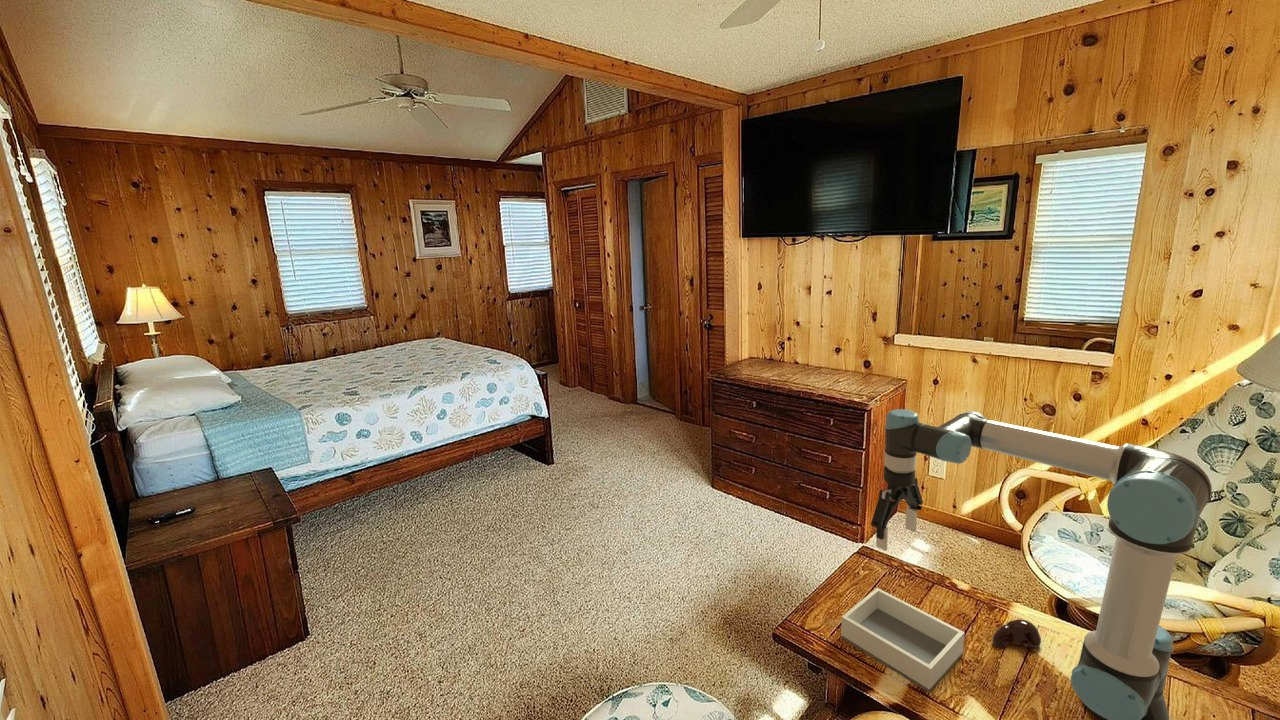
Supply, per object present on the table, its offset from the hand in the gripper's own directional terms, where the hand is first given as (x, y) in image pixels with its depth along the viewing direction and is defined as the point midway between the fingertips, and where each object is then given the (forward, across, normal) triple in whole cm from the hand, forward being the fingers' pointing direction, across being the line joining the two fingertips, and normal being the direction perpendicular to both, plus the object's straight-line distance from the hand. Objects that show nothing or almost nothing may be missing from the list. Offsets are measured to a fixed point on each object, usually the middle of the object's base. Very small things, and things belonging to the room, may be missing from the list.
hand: (896, 538), depth 147 cm
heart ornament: (+28, -19, +23) cm, 41 cm away
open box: (+27, +6, +6) cm, 29 cm away
